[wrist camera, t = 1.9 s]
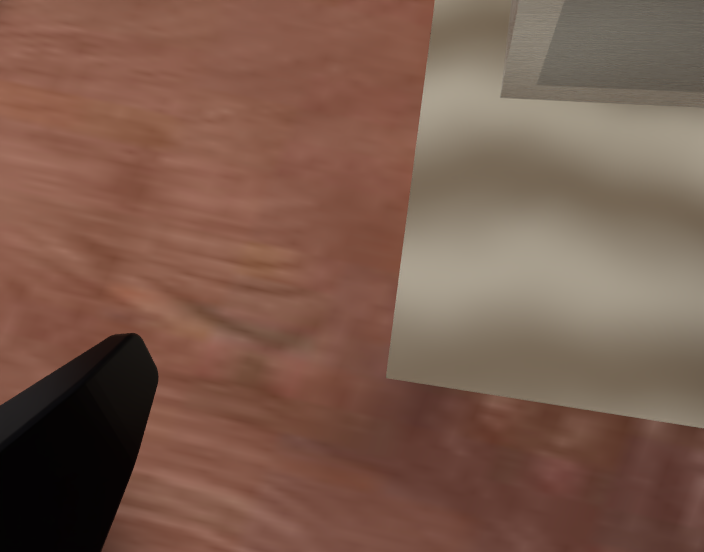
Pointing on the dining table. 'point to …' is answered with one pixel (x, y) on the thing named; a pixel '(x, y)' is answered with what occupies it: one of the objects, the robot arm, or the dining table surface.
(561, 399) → the l-shaped wooden stand
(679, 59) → the grey cube
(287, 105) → the dining table surface
